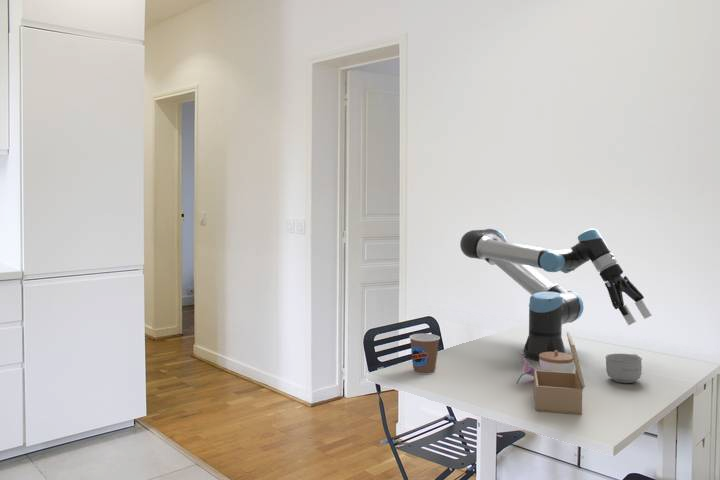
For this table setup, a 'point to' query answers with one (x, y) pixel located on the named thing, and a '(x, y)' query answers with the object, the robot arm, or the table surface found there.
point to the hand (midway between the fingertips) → (640, 320)
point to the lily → (527, 368)
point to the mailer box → (557, 392)
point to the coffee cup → (424, 352)
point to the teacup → (624, 367)
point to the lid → (576, 361)
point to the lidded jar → (556, 362)
